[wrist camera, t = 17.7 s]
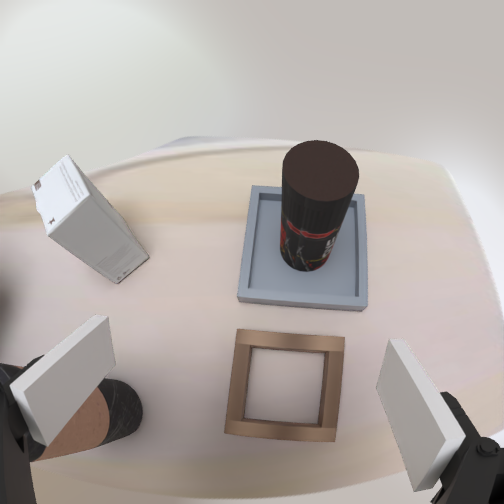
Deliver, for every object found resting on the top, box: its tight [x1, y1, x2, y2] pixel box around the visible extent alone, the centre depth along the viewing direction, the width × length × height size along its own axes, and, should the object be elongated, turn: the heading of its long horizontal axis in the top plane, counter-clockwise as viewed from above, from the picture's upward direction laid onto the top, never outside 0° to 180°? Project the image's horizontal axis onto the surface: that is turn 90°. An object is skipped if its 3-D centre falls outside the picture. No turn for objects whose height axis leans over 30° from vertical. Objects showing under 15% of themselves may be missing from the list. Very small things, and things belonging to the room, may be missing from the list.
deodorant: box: [280, 140, 359, 272], centre depth 30 cm, size 6×6×15 cm
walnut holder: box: [224, 329, 345, 442], centre depth 30 cm, size 11×11×3 cm
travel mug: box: [0, 363, 142, 462], centre depth 22 cm, size 8×8×20 cm
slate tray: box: [237, 185, 368, 311], centre depth 37 cm, size 14×14×2 cm
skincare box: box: [31, 154, 149, 284], centre depth 33 cm, size 8×6×15 cm
